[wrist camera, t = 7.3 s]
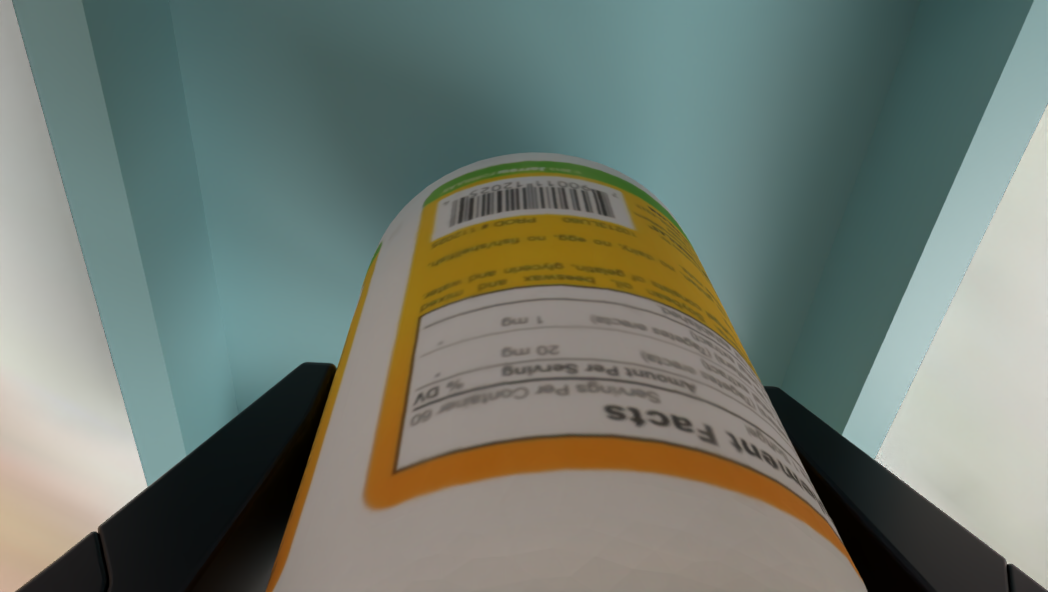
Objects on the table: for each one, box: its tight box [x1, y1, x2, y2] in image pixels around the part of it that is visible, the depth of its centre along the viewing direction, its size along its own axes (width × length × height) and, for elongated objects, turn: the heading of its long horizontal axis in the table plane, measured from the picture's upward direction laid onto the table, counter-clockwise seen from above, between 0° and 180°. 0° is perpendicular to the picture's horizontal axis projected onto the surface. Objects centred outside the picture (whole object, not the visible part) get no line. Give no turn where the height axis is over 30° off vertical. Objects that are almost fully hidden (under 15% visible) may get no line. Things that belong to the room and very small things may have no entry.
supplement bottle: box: [265, 152, 867, 592], centre depth 7 cm, size 5×5×10 cm
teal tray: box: [12, 0, 1048, 486], centre depth 12 cm, size 13×13×3 cm
